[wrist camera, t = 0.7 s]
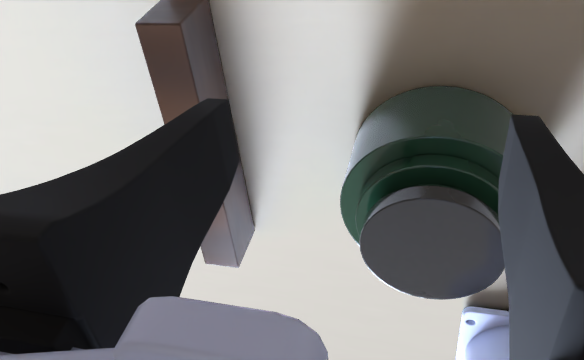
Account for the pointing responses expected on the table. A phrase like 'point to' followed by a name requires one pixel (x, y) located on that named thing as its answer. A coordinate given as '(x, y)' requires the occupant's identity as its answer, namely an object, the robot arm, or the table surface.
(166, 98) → the stick
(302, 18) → the table surface
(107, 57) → the table surface
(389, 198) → the green round jar
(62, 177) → the robot arm
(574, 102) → the table surface
